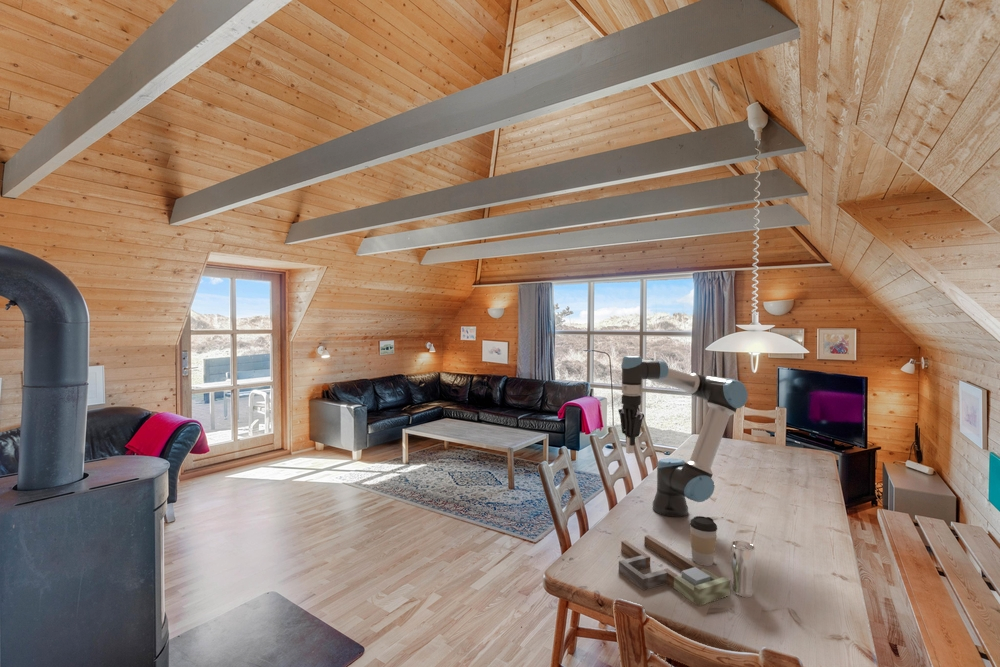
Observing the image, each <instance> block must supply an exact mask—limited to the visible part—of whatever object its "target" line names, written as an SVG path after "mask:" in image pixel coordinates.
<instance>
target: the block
mask: <svg viewBox="0 0 1000 667" xmlns="http://www.w3.org/2000/svg"><path fill="white" fill-rule="evenodd" d="M681 577H682V578H683V579H685V580H686V581H688V582H689V583H691V584H692V585H694V586H696V585H699V584H703V583H706V582H709V581H710V576H709V575H707V574H706V573H704V572H702V571H701V570H699V569H698V568H696V567H694V568H690V569H687V570H681Z"/></svg>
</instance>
